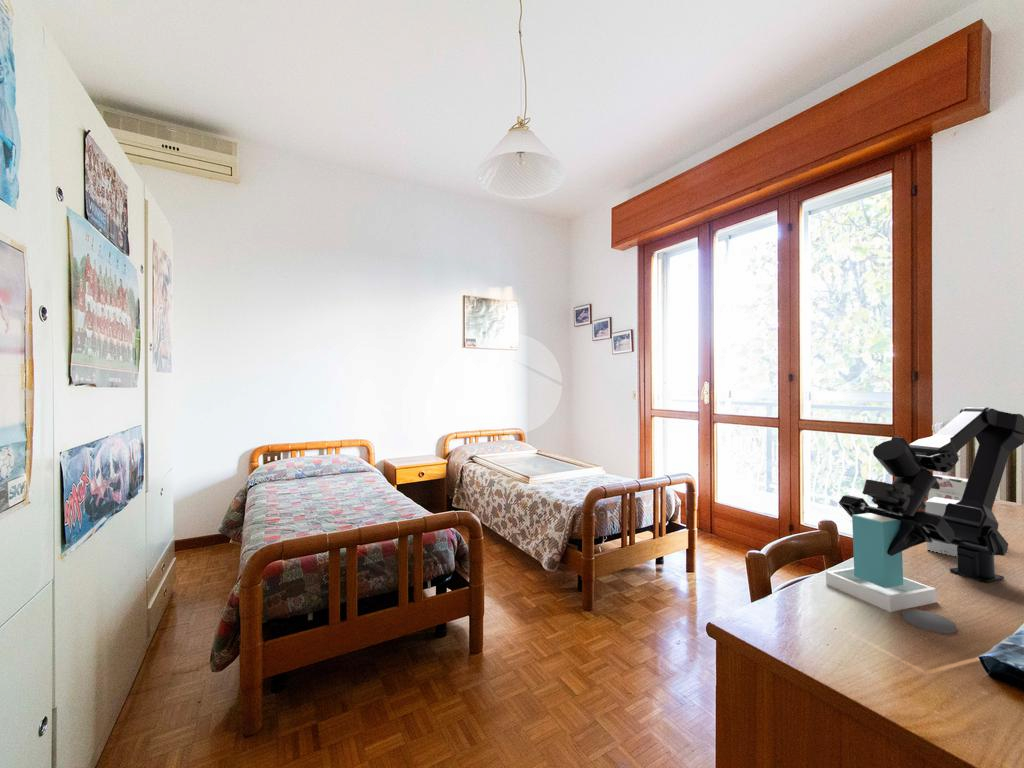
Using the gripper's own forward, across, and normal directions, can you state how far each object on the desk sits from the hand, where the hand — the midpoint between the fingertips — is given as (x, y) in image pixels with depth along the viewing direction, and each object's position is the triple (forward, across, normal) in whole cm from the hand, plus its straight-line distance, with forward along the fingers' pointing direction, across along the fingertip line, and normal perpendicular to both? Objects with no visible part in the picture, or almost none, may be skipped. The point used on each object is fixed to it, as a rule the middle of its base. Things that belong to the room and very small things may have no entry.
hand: (872, 548), depth 89 cm
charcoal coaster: (+9, +11, +5) cm, 15 cm away
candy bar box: (-36, -20, +51) cm, 65 cm away
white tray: (+6, 0, +8) cm, 10 cm away
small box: (-24, -12, +38) cm, 46 cm away
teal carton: (+4, 0, +6) cm, 7 cm away
